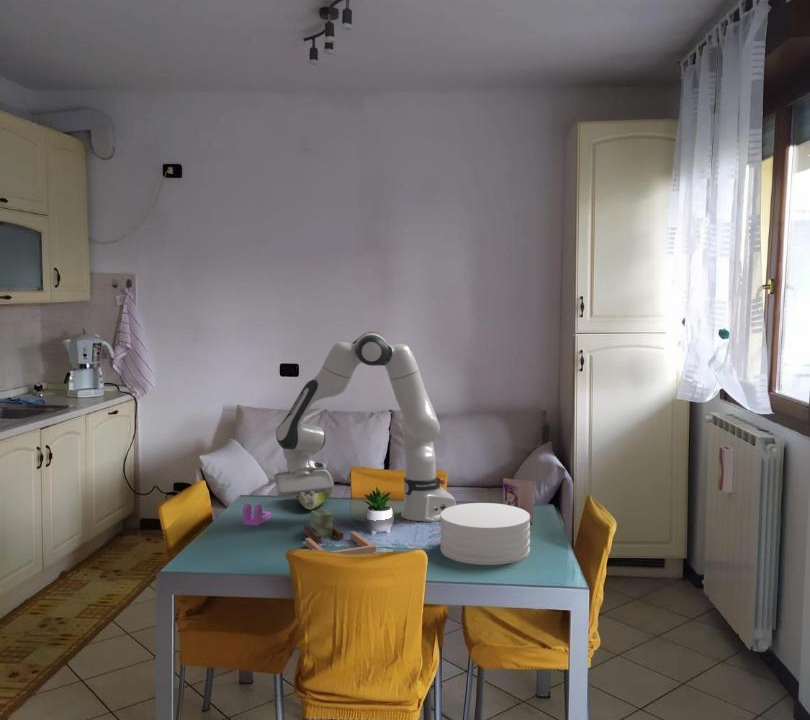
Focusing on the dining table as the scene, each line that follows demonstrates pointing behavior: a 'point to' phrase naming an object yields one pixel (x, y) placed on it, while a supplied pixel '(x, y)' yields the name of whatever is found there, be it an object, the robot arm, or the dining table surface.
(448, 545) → the plate stack
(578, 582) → the dining table surface
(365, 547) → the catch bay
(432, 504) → the robot arm
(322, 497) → the lettuce
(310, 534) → the walnut chute
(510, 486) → the greeting card
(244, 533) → the dining table surface
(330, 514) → the sage block
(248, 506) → the bracket
